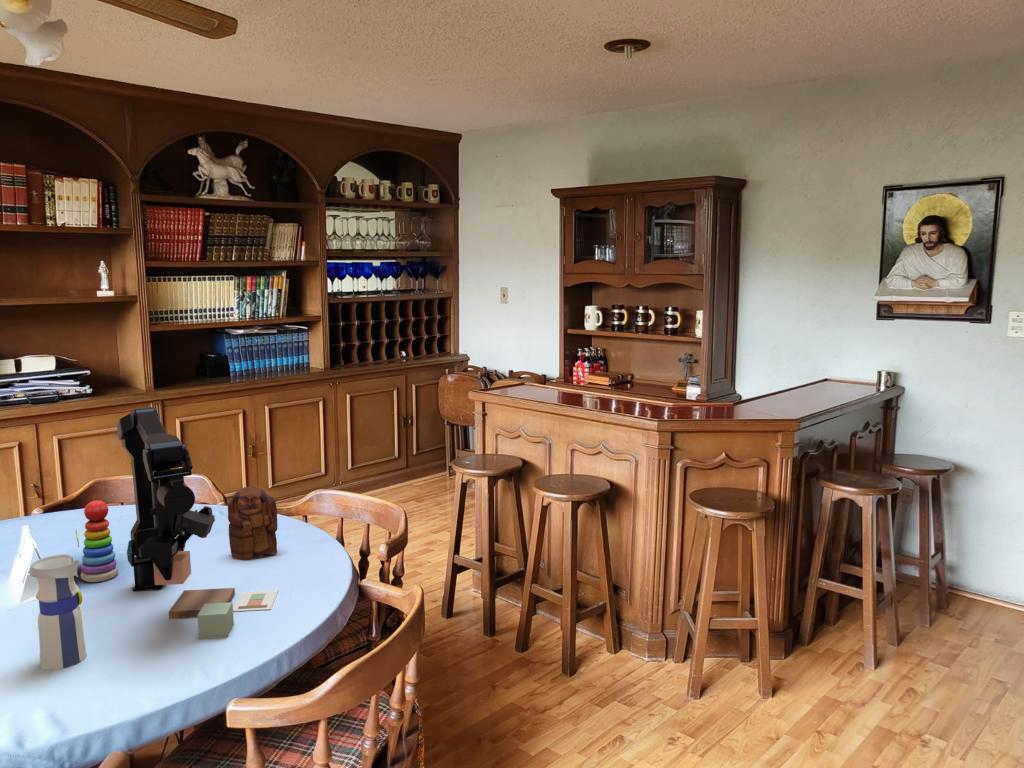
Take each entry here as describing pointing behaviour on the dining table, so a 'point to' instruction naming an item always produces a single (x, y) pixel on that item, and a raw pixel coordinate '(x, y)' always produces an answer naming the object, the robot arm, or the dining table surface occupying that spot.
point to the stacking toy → (97, 545)
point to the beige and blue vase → (59, 612)
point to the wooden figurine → (252, 524)
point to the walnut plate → (199, 601)
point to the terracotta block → (176, 570)
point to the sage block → (215, 620)
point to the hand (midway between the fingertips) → (173, 574)
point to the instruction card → (255, 601)
